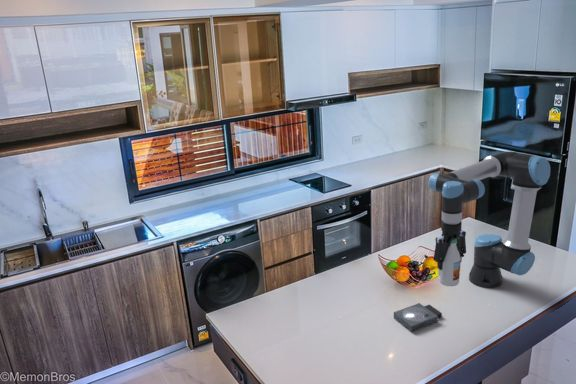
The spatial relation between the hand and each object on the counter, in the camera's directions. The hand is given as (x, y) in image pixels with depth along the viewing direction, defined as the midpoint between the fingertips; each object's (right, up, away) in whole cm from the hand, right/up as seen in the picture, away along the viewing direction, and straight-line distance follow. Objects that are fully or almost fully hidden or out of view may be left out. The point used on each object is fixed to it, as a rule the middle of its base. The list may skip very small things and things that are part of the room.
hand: (449, 273), depth 193 cm
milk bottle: (0, -4, +1) cm, 4 cm away
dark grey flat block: (-8, -22, +15) cm, 28 cm away
